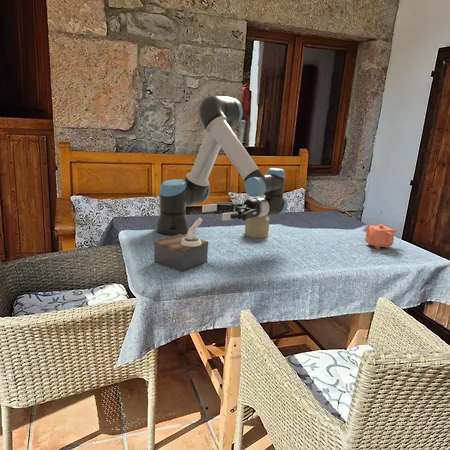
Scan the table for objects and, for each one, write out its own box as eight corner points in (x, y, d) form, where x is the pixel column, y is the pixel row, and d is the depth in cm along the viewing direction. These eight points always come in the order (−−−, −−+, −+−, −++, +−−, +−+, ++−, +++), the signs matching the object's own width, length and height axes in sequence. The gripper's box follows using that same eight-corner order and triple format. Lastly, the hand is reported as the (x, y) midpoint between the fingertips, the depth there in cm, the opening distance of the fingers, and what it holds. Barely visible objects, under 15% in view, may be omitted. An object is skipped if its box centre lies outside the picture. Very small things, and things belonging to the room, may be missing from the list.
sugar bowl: (235, 230, 202) (237, 200, 198) (254, 228, 208) (256, 198, 204) (253, 239, 190) (255, 207, 186) (272, 236, 196) (275, 205, 192)
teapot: (368, 240, 199) (371, 219, 196) (394, 245, 193) (398, 223, 190) (361, 247, 187) (364, 225, 184) (389, 253, 181) (392, 230, 178)
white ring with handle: (215, 233, 149) (200, 223, 147) (194, 257, 153) (179, 247, 150) (213, 223, 156) (198, 214, 153) (193, 246, 160) (178, 237, 157)
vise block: (154, 262, 156) (154, 241, 154) (179, 253, 167) (179, 233, 165) (182, 271, 148) (183, 250, 146) (207, 261, 160) (208, 241, 157)
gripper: (275, 224, 163) (231, 230, 151) (236, 209, 183) (194, 214, 171) (276, 205, 161) (232, 210, 149) (237, 192, 181) (195, 196, 168)
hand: (212, 212), depth 160 cm, fingers open, 13 cm apart
